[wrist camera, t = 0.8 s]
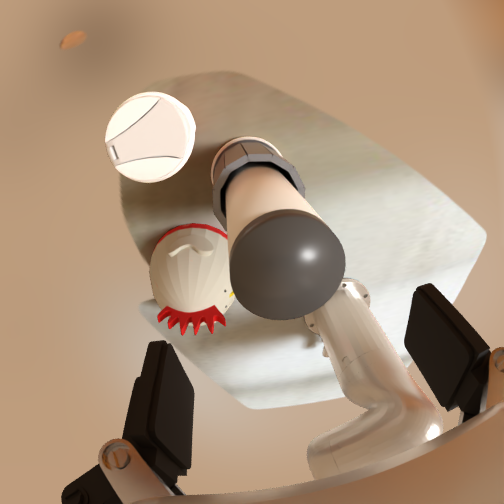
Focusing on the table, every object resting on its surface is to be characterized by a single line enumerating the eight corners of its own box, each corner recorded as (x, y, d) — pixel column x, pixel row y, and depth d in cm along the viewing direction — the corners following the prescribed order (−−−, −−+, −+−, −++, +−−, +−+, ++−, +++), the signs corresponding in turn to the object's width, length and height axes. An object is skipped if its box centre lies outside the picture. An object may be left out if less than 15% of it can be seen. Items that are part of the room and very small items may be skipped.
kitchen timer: (241, 300, 48) (249, 369, 35) (159, 302, 47) (143, 370, 34) (241, 221, 42) (251, 278, 29) (146, 225, 41) (115, 281, 27)
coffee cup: (155, 167, 37) (120, 200, 23) (135, 112, 33) (87, 116, 20) (213, 145, 36) (208, 166, 23) (194, 89, 33) (176, 75, 19)
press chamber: (283, 206, 41) (306, 245, 30) (212, 208, 40) (209, 249, 29) (285, 136, 37) (313, 148, 26) (209, 137, 36) (204, 149, 25)
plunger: (283, 215, 33) (336, 314, 17) (226, 217, 32) (232, 323, 17) (285, 159, 30) (353, 217, 14) (224, 160, 29) (227, 220, 14)
